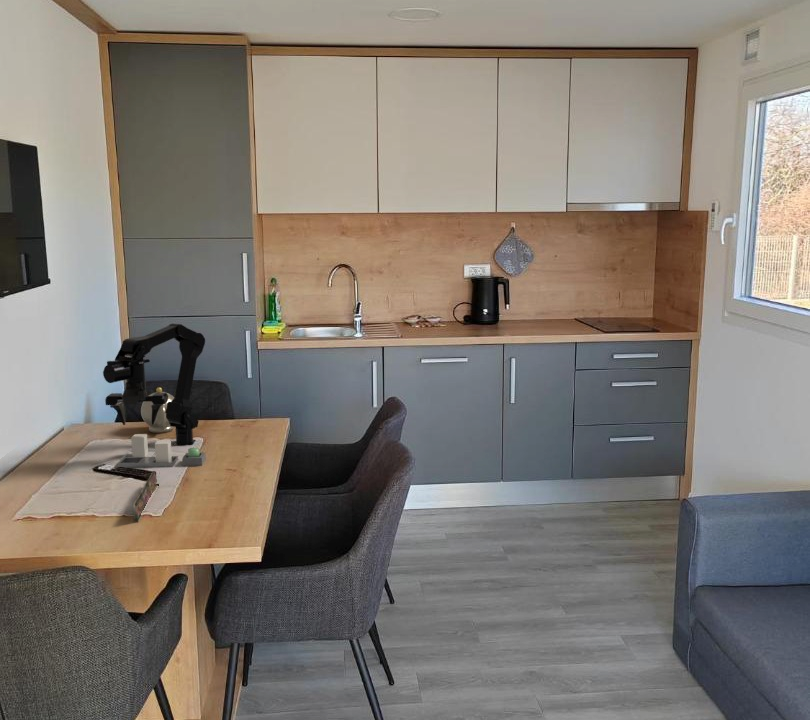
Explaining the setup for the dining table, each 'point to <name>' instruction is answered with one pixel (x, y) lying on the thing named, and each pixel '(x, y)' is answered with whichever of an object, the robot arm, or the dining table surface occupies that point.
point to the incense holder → (144, 496)
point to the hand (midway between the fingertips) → (138, 424)
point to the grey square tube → (194, 460)
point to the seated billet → (163, 451)
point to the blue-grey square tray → (131, 451)
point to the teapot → (161, 421)
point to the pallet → (145, 462)
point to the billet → (139, 445)
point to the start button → (193, 452)
